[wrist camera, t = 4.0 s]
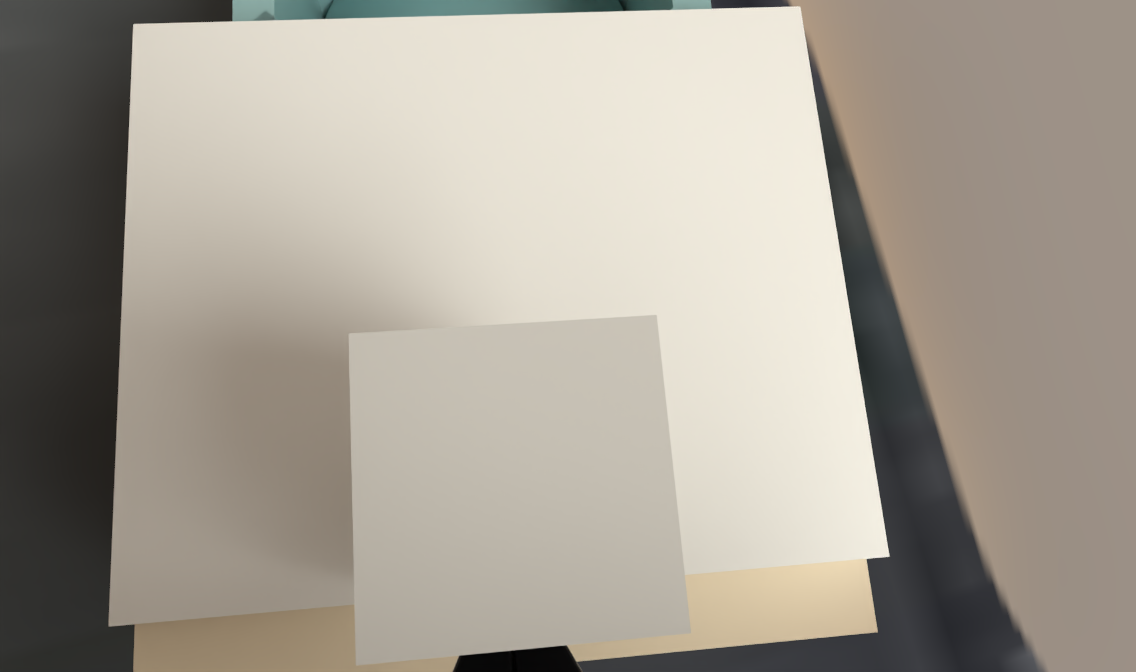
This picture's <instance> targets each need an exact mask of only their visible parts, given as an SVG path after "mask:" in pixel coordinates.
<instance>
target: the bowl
mask: <svg viewBox="0 0 1136 672" xmlns="http://www.w3.org/2000/svg"><path fill="white" fill-rule="evenodd" d="M689 9H712V8H711V1H710V0H233V18H232V21H270V20H308V19H346V18H385V17H423V16H461V15H499V14H537V13H575V12H613V11H651V10H689Z"/></svg>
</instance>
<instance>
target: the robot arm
mask: <svg viewBox="0 0 1136 672" xmlns="http://www.w3.org/2000/svg"><path fill="white" fill-rule="evenodd" d="M453 672H582V670H581V668H580V666H579V665H578V663H577V661H576V660H575V658H574V656H573V655H572V653H571V651H570V649H569V648H568V646H567V645H564V646H554V647H543V648H533V649H522V650H512V651H502V652H491V653H481V654H470V655H460V656H459V657H458V659H457V662H456V664H455V667H454V669H453Z"/></svg>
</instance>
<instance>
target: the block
mask: <svg viewBox="0 0 1136 672" xmlns="http://www.w3.org/2000/svg"><path fill="white" fill-rule="evenodd" d="M685 581H686V591H687V600H688V609H689V618H690V628H691V633H689V634H678V635H668V636H657V637H647V638H637V639H626V640H616V641H606V642H595V643H585V644H574V645H567V646H568V648H569V649H570V651H571V653H572V655H573V656H574V658H575V660H576V661H588V660H598V659H608V658H618V657H628V656H638V655H649V654H659V653H669V652H679V651H689V650H700V649H710V648H720V647H730V646H740V645H751V644H761V643H771V642H781V641H791V640H801V639H812V638H822V637H832V636H842V635H852V634H863V633H873V632H878V631H877V625H876V618H875V612H874V606H873V599H872V593H871V586H870V580H869V574H868V567H867V561H866V559H857V560H846V561H835V562H824V563H812V564H801V565H790V566H779V567H768V568H757V569H745V570H734V571H723V572H712V573H701V574H690V575H685ZM458 657H459V656H450V657H439V658H429V659H418V660H408V661H398V662H387V663H377V664H367V665H356V651H355V605H344V606H333V607H321V608H310V609H299V610H288V611H277V612H266V613H254V614H243V615H232V616H221V617H210V618H199V619H188V620H176V621H165V622H154V623H143V624H135V636H134V665H133V672H453V669H454V667H455V664H456V662H457V659H458Z"/></svg>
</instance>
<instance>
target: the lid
mask: <svg viewBox="0 0 1136 672" xmlns="http://www.w3.org/2000/svg"><path fill="white" fill-rule="evenodd" d="M879 557H889V551H888V545H887V539H886V533H885V526H884V520H883V514H882V508H881V502H880V496H879V489H878V483H877V477H876V471H875V465H874V459H873V452H872V446H871V440H870V434H869V428H868V422H867V415H866V409H865V403H864V397H863V391H862V385H861V378H860V372H859V366H858V360H857V354H856V348H855V341H854V335H853V329H852V323H851V317H850V311H849V304H848V298H847V292H846V286H845V280H844V274H843V267H842V261H841V255H840V249H839V243H838V237H837V230H836V224H835V218H834V212H833V206H832V200H831V193H830V187H829V181H828V175H827V169H826V163H825V156H824V150H823V144H822V138H821V132H820V126H819V119H818V113H817V107H816V101H815V95H814V89H813V83H812V76H811V70H810V64H809V58H808V52H807V46H806V39H805V33H804V27H803V21H802V15H801V9H800V7H766V8H728V9H689V10H651V11H613V12H575V13H537V14H499V15H461V16H423V17H385V18H346V19H308V20H270V21H232V22H194V23H156V24H133V44H132V68H131V93H130V117H129V141H128V165H127V190H126V214H125V238H124V262H123V287H122V311H121V335H120V359H119V384H118V408H117V432H116V456H115V481H114V505H113V529H112V553H111V578H110V602H109V626H121V625H132V624H143V623H154V622H165V621H176V620H188V619H199V618H210V617H221V616H232V615H243V614H254V613H266V612H277V611H288V610H299V609H310V608H321V607H333V606H344V605H355V651H356V665H367V664H377V663H387V662H398V661H408V660H418V659H429V658H439V657H450V656H460V655H470V654H481V653H491V652H502V651H512V650H522V649H533V648H543V647H554V646H564V645H574V644H585V643H595V642H606V641H616V640H626V639H637V638H647V637H657V636H668V635H678V634H689V633H691V628H690V618H689V609H688V600H687V591H686V581H685V575H690V574H701V573H712V572H723V571H734V570H745V569H757V568H768V567H779V566H790V565H801V564H812V563H824V562H835V561H846V560H857V559H868V558H879ZM109 626H108V627H109Z"/></svg>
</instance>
